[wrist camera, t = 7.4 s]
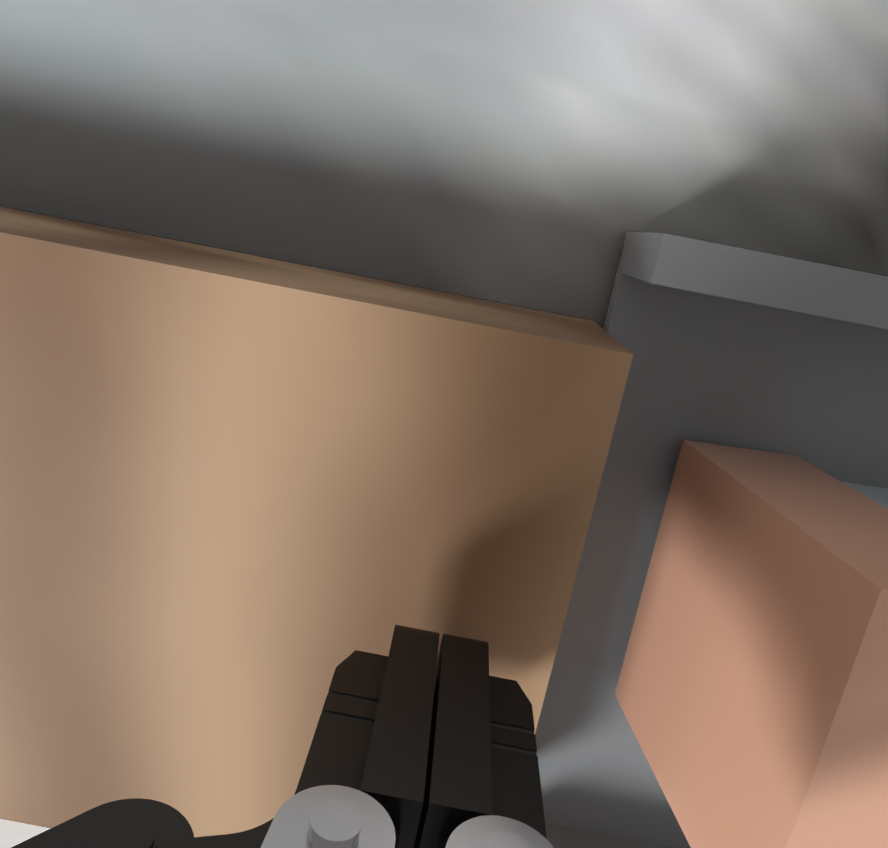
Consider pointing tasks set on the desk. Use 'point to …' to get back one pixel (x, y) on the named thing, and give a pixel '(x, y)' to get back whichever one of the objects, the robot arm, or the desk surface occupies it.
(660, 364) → the box
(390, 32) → the desk surface
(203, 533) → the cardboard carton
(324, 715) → the robot arm
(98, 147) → the desk surface
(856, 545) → the tile
